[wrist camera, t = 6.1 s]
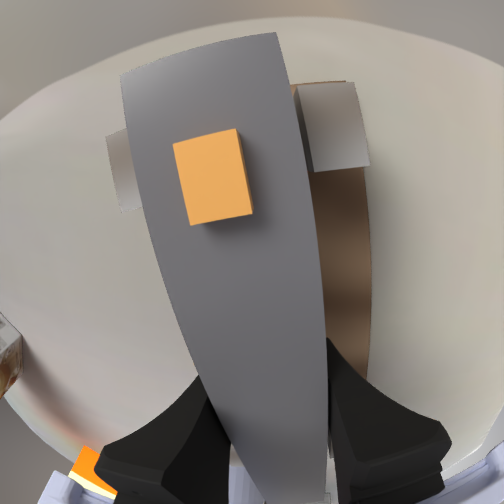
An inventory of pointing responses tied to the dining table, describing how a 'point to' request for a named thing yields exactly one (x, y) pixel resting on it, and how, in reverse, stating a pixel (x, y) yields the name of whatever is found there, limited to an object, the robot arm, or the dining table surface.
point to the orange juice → (90, 474)
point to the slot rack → (316, 210)
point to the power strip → (239, 248)
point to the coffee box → (9, 355)
